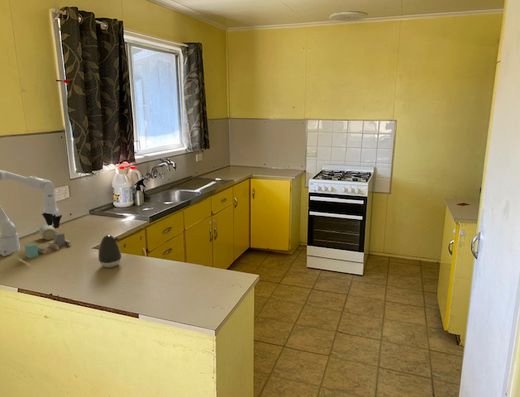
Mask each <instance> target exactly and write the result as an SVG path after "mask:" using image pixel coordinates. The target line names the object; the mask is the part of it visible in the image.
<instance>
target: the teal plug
mask: <svg viewBox="0 0 520 397" xmlns="http://www.w3.org/2000/svg"><path fill="white" fill-rule="evenodd" d="M37 245H38V244H36V243H34V242H31V243H30V242H29V243H27V244H24V250H25V255H26V256H25V257H27V258H28V259H33V258H37V257H39V251H38V250H37Z"/></svg>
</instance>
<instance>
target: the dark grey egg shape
mask: <svg viewBox="0 0 520 397" xmlns="http://www.w3.org/2000/svg"><path fill="white" fill-rule="evenodd" d="M118 240H119V237H114V236H112V235H110V234H106V235H104V236H103V238H102V239H101V241H100V243H99V248H98V262H99V263H100V265H101V266H102V267H104V268H115V267H117V266H118V265H119V264H120V263H121V259H122V253H121V249H120V246H119V243H118V242H117V241H118Z"/></svg>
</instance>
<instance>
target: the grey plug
mask: <svg viewBox="0 0 520 397" xmlns="http://www.w3.org/2000/svg"><path fill="white" fill-rule="evenodd" d="M58 232H59V231H58ZM53 238H54V239H53V243H55V244H57V245H58V246H59V248H60V247H64V246H66V244H65V239H66V237H65V233H63V232H61V231H60V232H59V233H55V234H53Z"/></svg>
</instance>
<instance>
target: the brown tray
mask: <svg viewBox="0 0 520 397" xmlns="http://www.w3.org/2000/svg"><path fill="white" fill-rule="evenodd" d="M65 244H66V246H64V247H60V248H59V246H58V245H57V244H55V243H54V241H50V240H49V241H48V246H46V247H42V246H40V245H39V244H37V250H38V253H41V254H43V255H45V254H49V253H52V252H55V251H56V252H57V251H59V250H62V249H66V248H69V247H72V240H68V239H66V238H65Z"/></svg>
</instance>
